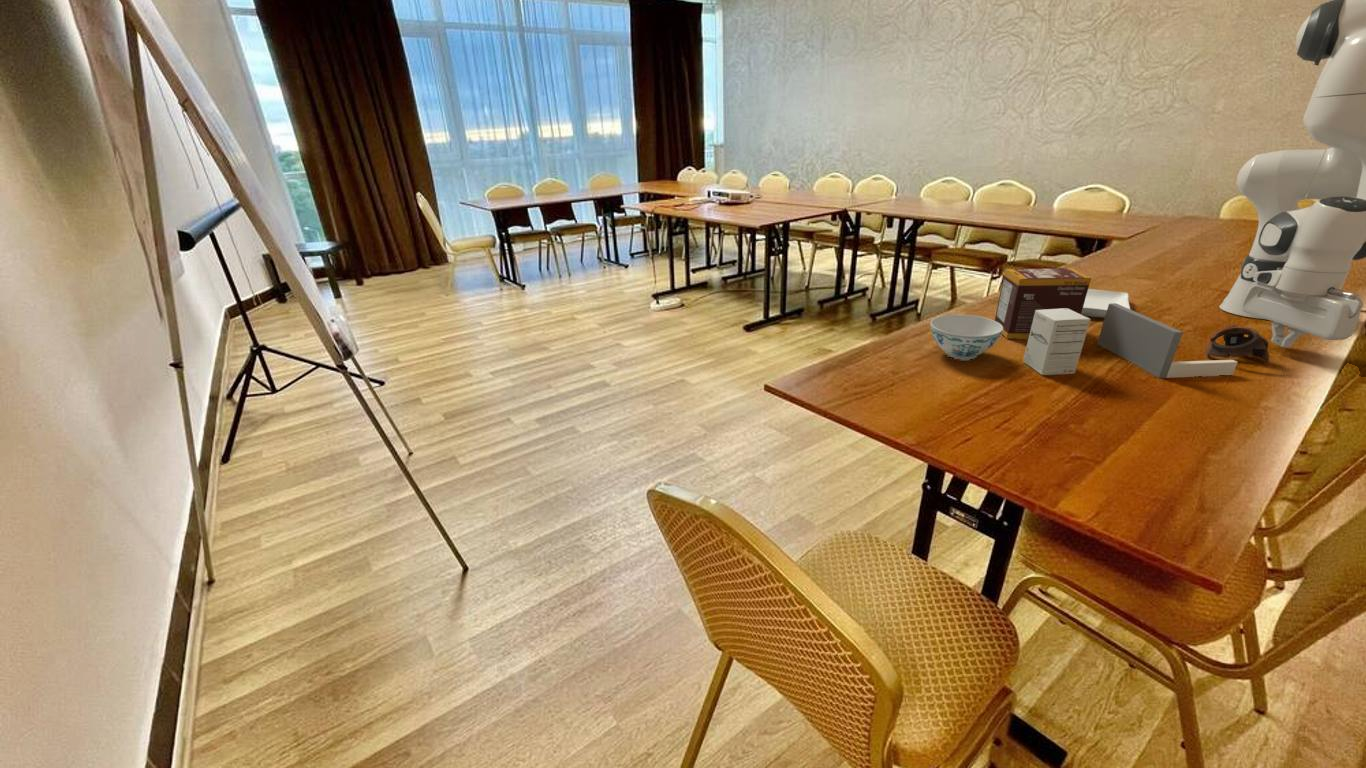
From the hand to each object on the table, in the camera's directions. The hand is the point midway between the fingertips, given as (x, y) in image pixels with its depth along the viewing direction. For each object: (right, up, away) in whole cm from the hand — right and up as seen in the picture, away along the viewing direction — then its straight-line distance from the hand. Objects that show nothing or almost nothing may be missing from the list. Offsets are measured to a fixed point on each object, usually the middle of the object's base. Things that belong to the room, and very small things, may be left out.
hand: (1280, 344), depth 112 cm
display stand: (-24, -3, +3) cm, 24 cm away
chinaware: (-63, -2, +12) cm, 64 cm away
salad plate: (-16, +13, +36) cm, 42 cm away
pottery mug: (-9, -3, +1) cm, 10 cm away
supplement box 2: (-49, -5, +3) cm, 49 cm away
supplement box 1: (-39, +5, +22) cm, 45 cm away
